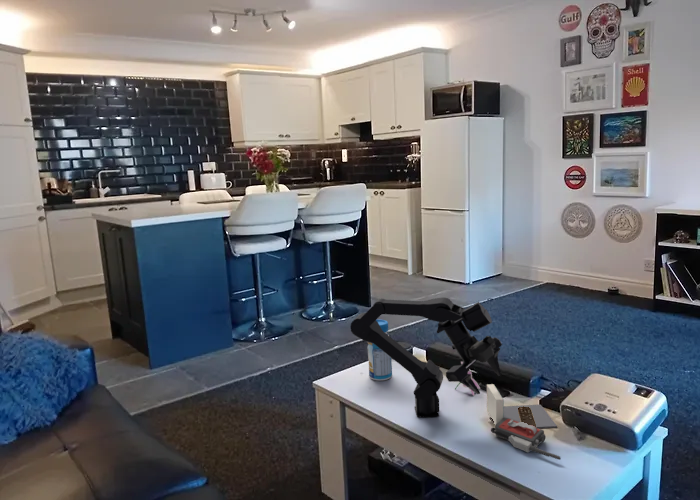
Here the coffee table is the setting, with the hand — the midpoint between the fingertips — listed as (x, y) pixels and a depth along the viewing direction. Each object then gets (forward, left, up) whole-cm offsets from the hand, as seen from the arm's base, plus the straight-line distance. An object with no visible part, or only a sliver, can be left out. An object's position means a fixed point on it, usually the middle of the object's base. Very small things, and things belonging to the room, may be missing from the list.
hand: (489, 384), depth 154 cm
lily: (-2, +19, -11) cm, 22 cm away
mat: (+10, 0, -11) cm, 15 cm away
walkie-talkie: (+6, -14, -11) cm, 19 cm away
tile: (+2, 0, -11) cm, 11 cm away
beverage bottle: (-29, +34, -11) cm, 46 cm away
